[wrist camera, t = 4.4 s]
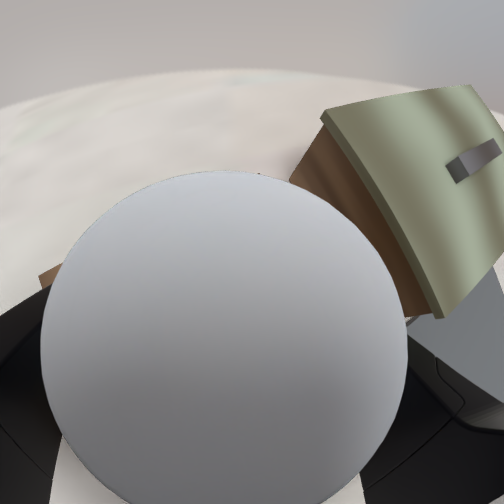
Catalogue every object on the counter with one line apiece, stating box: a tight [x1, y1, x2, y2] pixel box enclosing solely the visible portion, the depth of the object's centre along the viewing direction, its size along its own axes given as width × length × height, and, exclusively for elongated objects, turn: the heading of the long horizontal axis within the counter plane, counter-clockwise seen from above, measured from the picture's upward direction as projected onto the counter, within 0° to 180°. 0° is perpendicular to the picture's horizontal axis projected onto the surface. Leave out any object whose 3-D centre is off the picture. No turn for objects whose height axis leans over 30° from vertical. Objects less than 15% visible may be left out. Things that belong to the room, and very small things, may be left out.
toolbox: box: [38, 85, 504, 319], centre depth 13 cm, size 28×11×7 cm, turn 119°
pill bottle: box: [41, 171, 408, 504], centre depth 9 cm, size 6×6×12 cm
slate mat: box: [406, 266, 504, 403], centre depth 16 cm, size 14×14×1 cm
